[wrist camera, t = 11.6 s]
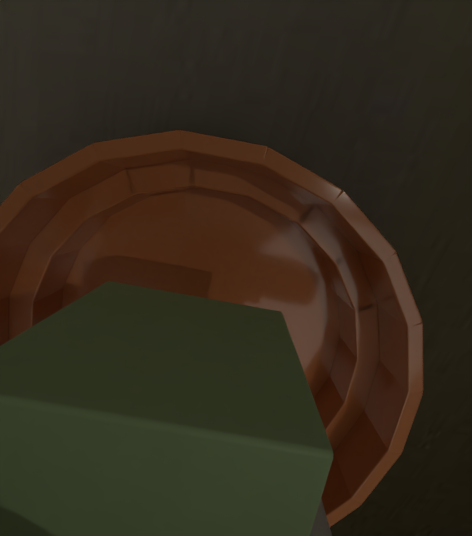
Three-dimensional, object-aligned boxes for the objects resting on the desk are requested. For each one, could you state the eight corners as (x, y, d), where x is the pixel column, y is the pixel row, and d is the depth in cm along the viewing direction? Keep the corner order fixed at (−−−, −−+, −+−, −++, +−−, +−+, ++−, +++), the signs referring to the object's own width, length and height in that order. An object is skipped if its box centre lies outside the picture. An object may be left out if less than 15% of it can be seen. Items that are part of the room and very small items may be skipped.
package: (83, 529, 10) (-59, 822, 6) (105, 279, 8) (-83, 388, 4) (229, 551, 11) (219, 859, 6) (284, 311, 9) (342, 458, 4)
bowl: (33, 437, 19) (-49, 532, 13) (46, 125, 15) (-63, 82, 10) (321, 484, 19) (352, 593, 14) (406, 193, 15) (496, 189, 10)
